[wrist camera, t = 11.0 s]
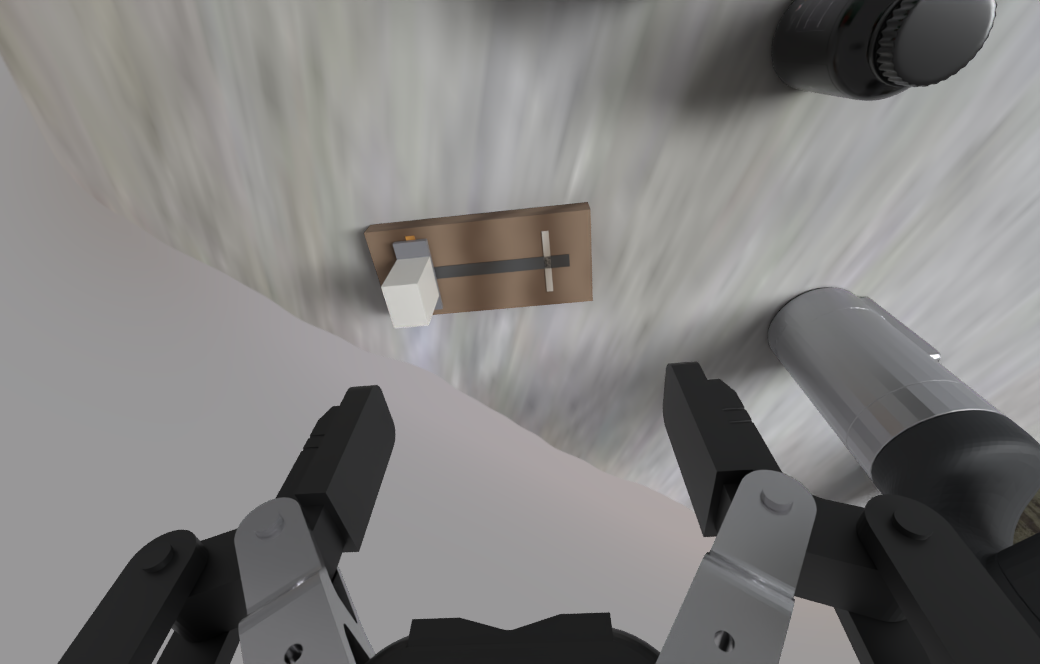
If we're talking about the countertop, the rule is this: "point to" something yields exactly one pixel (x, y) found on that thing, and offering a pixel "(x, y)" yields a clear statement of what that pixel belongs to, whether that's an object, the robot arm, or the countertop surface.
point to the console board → (499, 256)
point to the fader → (412, 285)
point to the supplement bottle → (877, 44)
